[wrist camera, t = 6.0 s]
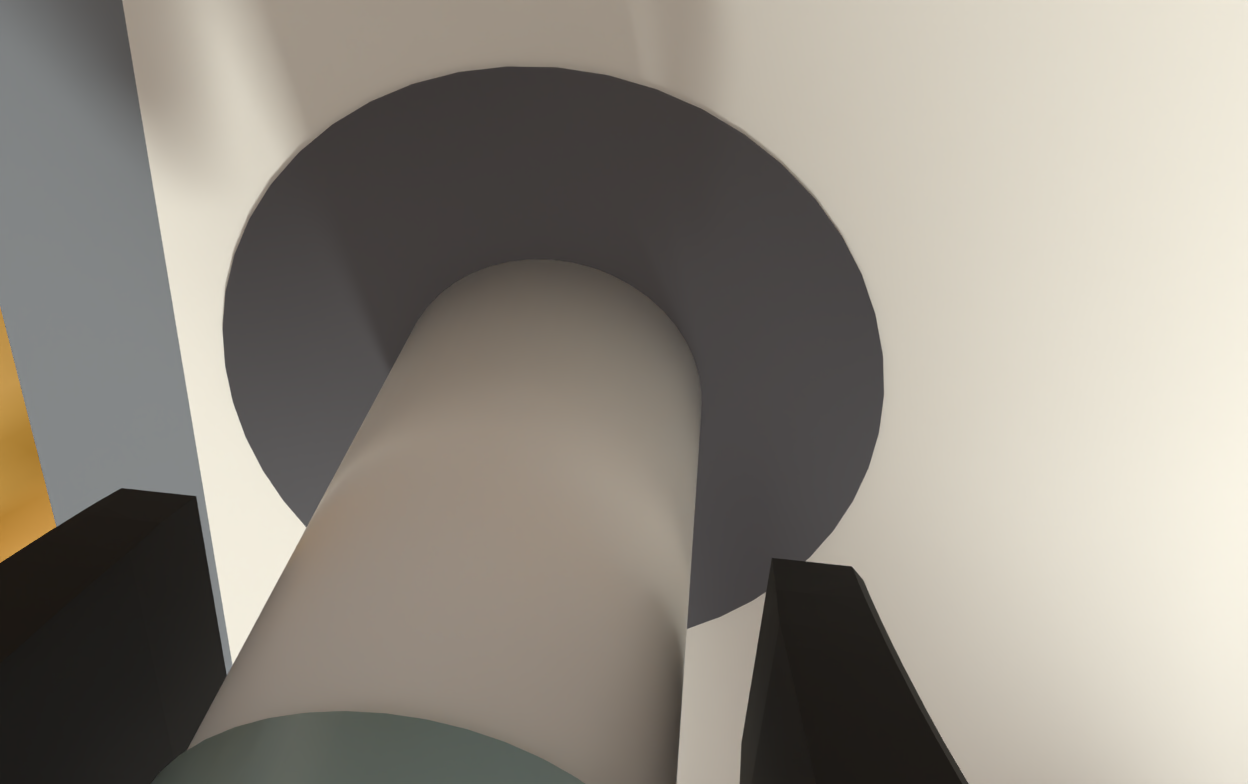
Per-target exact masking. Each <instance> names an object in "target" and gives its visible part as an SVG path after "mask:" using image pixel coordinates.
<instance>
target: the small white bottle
mask: <svg viewBox="0 0 1248 784" xmlns="http://www.w3.org/2000/svg"><path fill="white" fill-rule="evenodd" d="M701 405H702V392H701V385H700V378H699V374H698V370H697V367H696V364H695V360H694V358H693V355H692V353H691V351H690V349H689V347H688V345H687V342H686V341H685V339H684V338H683V336H682V335H681V333H680V331H679V330H678V328H677V327H676V325H675V324H674V323H673V322H672V321H671V320H670V318H669V317H668V316H667V315H666V314H665V312H664V311H663V310H662V309H660V308H659V307H658V306H657V305H656V304H655V303H654V302H653V301H652V300H651V299H649V298H648V297H647V296H646V295H644V294H643V293H641V292H640V291H638V290H637V289H636V288H634V287H633V286H631V285H629V284H628V283H626V282H624V281H622V280H620V279H618V278H616V277H615V276H613V275H610V274H607V273H605V272H602V271H600V270H597V269H595V268H592V267H588V266H584V265H580V264H576V263H572V262H565V261H558V260H541V259H529V260H520V261H510V262H506V263H502V264H498V265H493V266H490V267H487V268H484V269H482V270H479V271H477V272H474V273H472V274H470V275H468V276H466V277H464V278H462V279H461V280H459V281H457V282H455V283H454V284H452V285H451V286H450V287H448V288H447V289H446V290H445V291H443V292H442V293H441V294H440V295H439V296H438V297H437V298H436V299H435V300H434V301H433V302H432V303H431V304H430V305H429V306H428V307H427V308H426V310H425V311H424V312H423V314H422V315H421V317H420V318H419V319H418V321H417V323H416V324H415V326H414V328H413V330H412V332H411V334H410V336H409V337H408V339H407V341H406V343H405V345H404V347H403V349H402V351H401V352H400V354H399V356H398V358H397V360H396V362H395V364H394V365H393V367H392V369H391V371H390V373H389V375H388V377H387V378H386V380H385V382H384V384H383V386H382V388H381V390H380V391H379V393H378V395H377V397H376V399H375V401H374V403H373V405H372V406H371V408H370V410H369V412H368V414H367V416H366V418H365V419H364V421H363V423H362V425H361V427H360V429H359V431H358V432H357V434H356V436H355V438H354V440H353V442H352V444H351V445H350V447H349V449H348V451H347V453H346V455H345V457H344V459H343V460H342V462H341V464H340V466H339V468H338V470H337V472H336V473H335V475H334V477H333V479H332V481H331V483H330V485H329V486H328V488H327V490H326V492H325V494H324V496H323V498H322V500H321V501H320V503H319V505H318V507H317V509H316V511H315V513H314V514H313V516H312V518H311V520H310V522H309V524H308V526H307V527H306V529H305V531H304V533H303V535H302V537H301V539H300V540H299V542H298V544H297V546H296V548H295V550H294V552H293V554H292V555H291V557H290V559H289V561H288V563H287V565H286V567H285V568H284V570H283V572H282V574H281V576H280V578H279V580H278V581H277V583H276V585H275V587H274V589H273V591H272V593H271V594H270V596H269V598H268V600H267V602H266V604H265V606H264V608H263V609H262V611H261V613H260V615H259V617H258V619H257V621H256V622H255V624H254V626H253V628H252V630H251V632H250V634H249V635H248V637H247V639H246V641H245V643H244V645H243V647H242V648H241V650H240V652H239V654H238V656H237V658H236V660H235V662H234V663H233V665H232V667H231V669H230V671H229V673H228V675H227V676H226V678H225V680H224V682H223V684H222V686H221V688H220V689H219V691H218V693H217V695H216V697H215V699H214V701H213V703H212V704H211V706H210V708H209V710H208V712H207V714H206V716H205V717H204V719H203V721H202V723H201V725H200V727H199V729H198V730H197V732H196V734H195V736H194V738H193V740H192V742H191V743H190V745H189V747H188V749H187V751H185V752H184V753H182V754H180V755H179V756H178V757H177V758H176V759H174V760H173V761H172V762H171V763H170V764H169V765H168V766H166V767H165V768H164V769H163V770H162V771H161V772H160V773H159V774H158V775H157V776H156V778H155V779H154V780H153V782H152V783H151V784H677V769H678V754H679V739H680V724H681V709H682V694H683V679H684V664H685V649H686V634H687V619H688V604H689V589H690V574H691V559H692V544H693V529H694V514H695V499H696V484H697V469H698V454H699V439H700V424H701Z"/></svg>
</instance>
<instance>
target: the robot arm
mask: <svg viewBox="0 0 1248 784" xmlns="http://www.w3.org/2000/svg"><path fill="white" fill-rule="evenodd" d="M226 676H227V673H226V668H225V662H224V656H223V650H222V644H221V638H220V632H219V627H218V621H217V615H216V609H215V603H214V597H213V591H212V586H211V580H210V574H209V568H208V562H207V556H206V550H205V544H204V539H203V533H202V527H201V521H200V515H199V509H198V503H197V498H196V496H191V495H182V494H173V493H163V492H154V491H145V490H135V489H126V488H120V489H119V490H117V491H115V492H113V493H112V494H110V495H108V496H106V497H105V498H103V499H101V500H100V501H98V502H96V503H94V504H93V505H91V506H89V507H88V508H86V509H84V510H83V511H81V512H80V513H78V514H76V515H75V516H73V517H72V518H70V519H68V520H67V521H65V522H64V523H62V524H60V525H59V526H57V527H56V528H54V529H53V530H51V531H49V532H48V533H46V534H45V535H43V536H42V537H40V538H38V539H37V540H35V541H34V542H32V543H31V544H29V545H27V546H26V547H24V548H23V549H21V550H20V551H18V552H17V553H15V554H14V555H12V556H10V557H9V558H7V559H6V560H4V561H3V562H1V563H0V784H151V783H152V782H153V780H154V779H155V778H156V776H157V775H158V774H159V773H160V772H161V771H162V770H163V769H164V768H165V767H166V766H168V765H169V764H170V763H171V762H172V761H173V760H174V759H176V758H177V757H178V756H179V755H180V754H182V753H184V752H185V751H187V749H188V747H189V745H190V743H191V742H192V740H193V738H194V736H195V734H196V732H197V730H198V729H199V727H200V725H201V723H202V721H203V719H204V717H205V716H206V714H207V712H208V710H209V708H210V706H211V704H212V703H213V701H214V699H215V697H216V695H217V693H218V691H219V689H220V688H221V686H222V684H223V682H224V680H225V678H226ZM740 784H968V782H967V780H966V778H965V777H964V775H963V773H962V772H961V770H960V768H959V766H958V765H957V763H956V761H955V760H954V758H953V756H952V755H951V753H950V751H949V749H948V748H947V746H946V744H945V743H944V741H943V739H942V737H941V735H940V734H939V732H938V730H937V728H936V726H935V724H934V723H933V721H932V719H931V717H930V715H929V714H928V712H927V710H926V708H925V706H924V704H923V702H922V700H921V699H920V697H919V695H918V693H917V691H916V689H915V687H914V685H913V683H912V681H911V679H910V677H909V676H908V674H907V672H906V670H905V668H904V666H903V664H902V662H901V660H900V658H899V656H898V654H897V652H896V650H895V648H894V646H893V644H892V642H891V640H890V638H889V636H888V634H887V631H886V629H885V627H884V625H883V623H882V621H881V619H880V616H879V614H878V612H877V610H876V608H875V606H874V603H873V601H872V599H871V597H870V594H869V592H868V590H867V587H866V585H865V582H864V580H863V579H862V578H861V577H860V575H859V574H858V573H857V572H856V571H855V569H854V568H853V567H852V566H844V565H834V564H825V563H816V562H806V561H797V560H788V559H779V558H772V559H771V565H770V571H769V578H768V584H767V590H766V596H765V602H764V608H763V614H762V620H761V626H760V632H759V638H758V644H757V651H756V657H755V663H754V669H753V675H752V681H751V687H750V693H749V699H748V705H747V711H746V717H745V724H744V730H743V736H742V742H741V761H740Z"/></svg>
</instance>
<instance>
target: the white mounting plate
mask: <svg viewBox="0 0 1248 784" xmlns="http://www.w3.org/2000/svg"><path fill="white" fill-rule="evenodd" d="M529 259H541V260H558V261H565V262H572V263H576V264H580V265H584V266H588V267H592V268H595V269H597V270H600V271H602V272H605V273H607V274H610V275H613V276H615V277H616V278H618V279H620V280H622V281H624V282H626V283H628V284H629V285H631V286H633V287H634V288H636V289H637V290H638V291H640V292H641V293H643V294H644V295H646V296H647V297H648V298H649V299H651V300H652V301H653V302H654V303H655V304H656V305H657V306H658V307H659V308H660V309H662V310H663V311H664V312H665V314H666V315H667V316H668V317H669V318H670V320H671V321H672V322H673V323H674V324H675V325H676V327H677V328H678V330H679V331H680V333H681V335H682V336H683V338H684V339H685V341H686V342H687V345H688V347H689V349H690V351H691V353H692V355H693V358H694V360H695V364H696V367H697V370H698V374H699V378H700V385H701V392H702V405H701V424H700V439H699V454H698V469H697V484H696V499H695V514H694V529H693V544H692V559H691V574H690V589H689V604H688V619H687V634H686V649H685V664H684V679H683V694H682V709H681V724H680V739H679V754H678V769H677V784H740V761H741V742H742V736H743V730H744V724H745V717H746V711H747V705H748V699H749V693H750V687H751V681H752V675H753V669H754V663H755V657H756V651H757V644H758V638H759V632H760V626H761V620H762V614H763V608H764V602H765V596H766V590H767V584H768V578H769V571H770V565H771V559H772V558H779V559H788V560H797V561H806V562H816V563H825V564H834V565H844V566H852V567H853V568H854V569H855V571H856V572H857V573H858V574H859V575H860V577H861V578H862V579H863V580H864V582H865V585H866V587H867V590H868V592H869V594H870V597H871V599H872V601H873V603H874V606H875V608H876V610H877V612H878V614H879V616H880V619H881V621H882V623H883V625H884V627H885V629H886V631H887V634H888V636H889V638H890V640H891V642H892V644H893V646H894V648H895V650H896V652H897V654H898V656H899V658H900V660H901V662H902V664H903V666H904V668H905V670H906V672H907V674H908V676H909V677H910V679H911V681H912V683H913V685H914V687H915V689H916V691H917V693H918V695H919V697H920V699H921V700H922V702H923V704H924V706H925V708H926V710H927V712H928V714H929V715H930V717H931V719H932V721H933V723H934V724H935V726H936V728H937V730H938V732H939V734H940V735H941V737H942V739H943V741H944V743H945V744H946V746H947V748H948V749H949V751H950V753H951V755H952V756H953V758H954V760H955V761H956V763H957V765H958V766H959V768H960V770H961V772H962V773H963V775H964V777H965V778H966V780H967V782H968V784H1248V0H0V307H1V311H2V315H3V319H4V323H5V327H6V331H7V334H8V338H9V342H10V346H11V350H12V354H13V358H14V362H15V366H16V370H17V374H18V378H19V381H20V385H21V389H22V393H23V397H24V401H25V405H26V409H27V413H28V417H29V421H30V425H31V429H32V432H33V436H34V440H35V444H36V448H37V452H38V456H39V460H40V464H41V468H42V472H43V476H44V479H45V483H46V487H47V491H48V495H49V499H50V503H51V507H52V511H53V515H54V519H55V523H56V527H57V526H59V525H60V524H62V523H64V522H65V521H67V520H68V519H70V518H72V517H73V516H75V515H76V514H78V513H80V512H81V511H83V510H84V509H86V508H88V507H89V506H91V505H93V504H94V503H96V502H98V501H100V500H101V499H103V498H105V497H106V496H108V495H110V494H112V493H113V492H115V491H117V490H119V489H120V488H126V489H135V490H145V491H154V492H163V493H173V494H182V495H191V496H196V498H197V503H198V509H199V515H200V521H201V527H202V533H203V539H204V544H205V550H206V556H207V562H208V568H209V574H210V580H211V586H212V591H213V597H214V603H215V609H216V615H217V621H218V627H219V632H220V638H221V644H222V650H223V656H224V662H225V668H226V673H227V675H228V673H229V671H230V669H231V667H232V665H233V663H234V662H235V660H236V658H237V656H238V654H239V652H240V650H241V648H242V647H243V645H244V643H245V641H246V639H247V637H248V635H249V634H250V632H251V630H252V628H253V626H254V624H255V622H256V621H257V619H258V617H259V615H260V613H261V611H262V609H263V608H264V606H265V604H266V602H267V600H268V598H269V596H270V594H271V593H272V591H273V589H274V587H275V585H276V583H277V581H278V580H279V578H280V576H281V574H282V572H283V570H284V568H285V567H286V565H287V563H288V561H289V559H290V557H291V555H292V554H293V552H294V550H295V548H296V546H297V544H298V542H299V540H300V539H301V537H302V535H303V533H304V531H305V529H306V527H307V526H308V524H309V522H310V520H311V518H312V516H313V514H314V513H315V511H316V509H317V507H318V505H319V503H320V501H321V500H322V498H323V496H324V494H325V492H326V490H327V488H328V486H329V485H330V483H331V481H332V479H333V477H334V475H335V473H336V472H337V470H338V468H339V466H340V464H341V462H342V460H343V459H344V457H345V455H346V453H347V451H348V449H349V447H350V445H351V444H352V442H353V440H354V438H355V436H356V434H357V432H358V431H359V429H360V427H361V425H362V423H363V421H364V419H365V418H366V416H367V414H368V412H369V410H370V408H371V406H372V405H373V403H374V401H375V399H376V397H377V395H378V393H379V391H380V390H381V388H382V386H383V384H384V382H385V380H386V378H387V377H388V375H389V373H390V371H391V369H392V367H393V365H394V364H395V362H396V360H397V358H398V356H399V354H400V352H401V351H402V349H403V347H404V345H405V343H406V341H407V339H408V337H409V336H410V334H411V332H412V330H413V328H414V326H415V324H416V323H417V321H418V319H419V318H420V317H421V315H422V314H423V312H424V311H425V310H426V308H427V307H428V306H429V305H430V304H431V303H432V302H433V301H434V300H435V299H436V298H437V297H438V296H439V295H440V294H441V293H442V292H443V291H445V290H446V289H447V288H448V287H450V286H451V285H452V284H454V283H455V282H457V281H459V280H461V279H462V278H464V277H466V276H468V275H470V274H472V273H474V272H477V271H479V270H482V269H484V268H487V267H490V266H493V265H498V264H502V263H506V262H510V261H520V260H529Z"/></svg>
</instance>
